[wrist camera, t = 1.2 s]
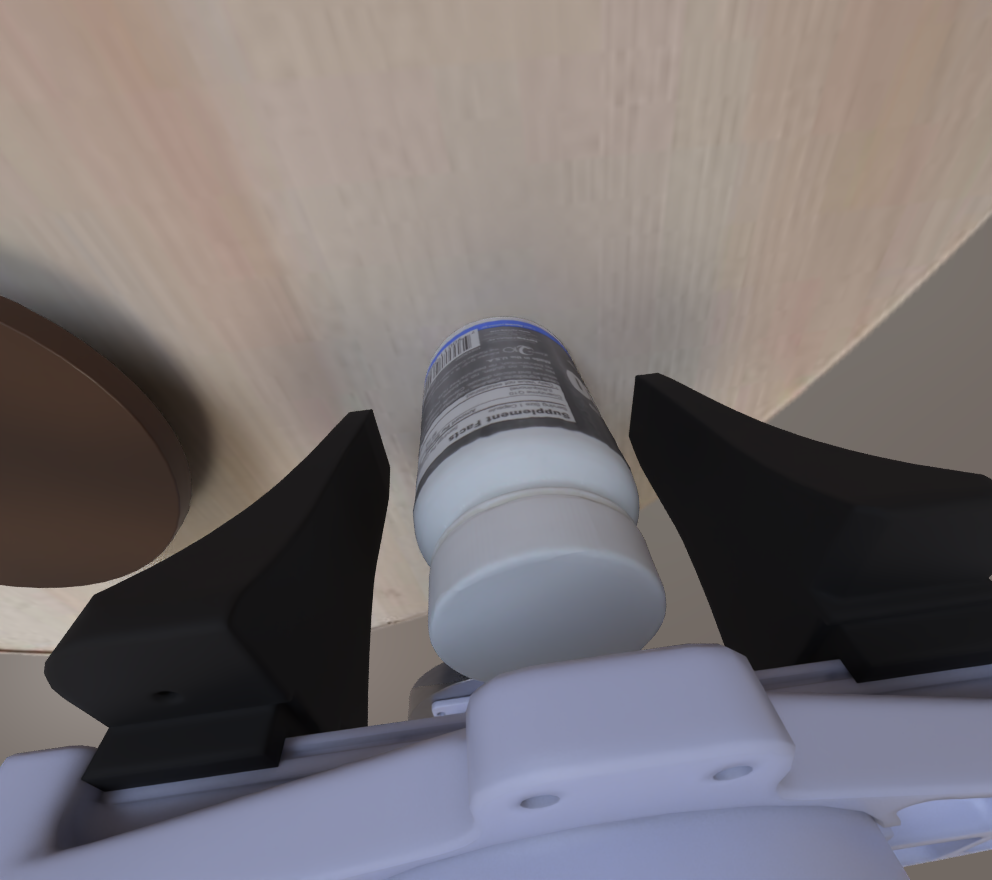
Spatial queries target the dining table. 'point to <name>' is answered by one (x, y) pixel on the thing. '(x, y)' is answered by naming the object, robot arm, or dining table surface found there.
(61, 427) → the stand
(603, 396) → the dining table surface
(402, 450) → the dining table surface
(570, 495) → the pill bottle
